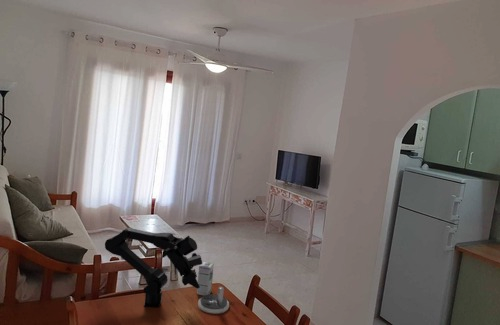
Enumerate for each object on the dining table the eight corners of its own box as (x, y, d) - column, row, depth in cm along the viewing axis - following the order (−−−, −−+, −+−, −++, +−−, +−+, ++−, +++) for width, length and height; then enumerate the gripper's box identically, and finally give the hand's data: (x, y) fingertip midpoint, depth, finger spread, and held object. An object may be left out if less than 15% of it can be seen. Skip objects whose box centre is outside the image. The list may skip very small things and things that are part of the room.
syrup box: (207, 296, 179) (210, 267, 178) (196, 294, 180) (198, 265, 179) (211, 291, 185) (214, 263, 183) (200, 289, 186) (202, 261, 184)
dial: (208, 311, 163) (210, 291, 162) (196, 298, 172) (198, 280, 172) (231, 306, 169) (234, 287, 168) (218, 294, 179) (220, 276, 178)
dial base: (196, 312, 164) (197, 308, 163) (199, 297, 177) (199, 294, 177) (229, 314, 165) (229, 311, 165) (228, 299, 179) (228, 296, 178)
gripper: (195, 253, 156) (217, 283, 158) (191, 243, 174) (211, 270, 176) (173, 270, 153) (194, 299, 156) (171, 258, 172) (191, 285, 174)
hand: (198, 287), depth 165 cm, fingers closed
